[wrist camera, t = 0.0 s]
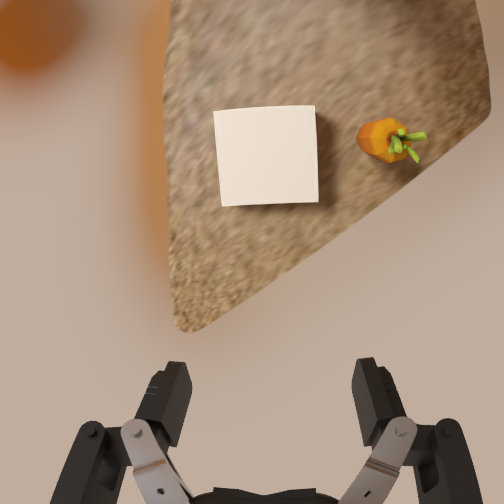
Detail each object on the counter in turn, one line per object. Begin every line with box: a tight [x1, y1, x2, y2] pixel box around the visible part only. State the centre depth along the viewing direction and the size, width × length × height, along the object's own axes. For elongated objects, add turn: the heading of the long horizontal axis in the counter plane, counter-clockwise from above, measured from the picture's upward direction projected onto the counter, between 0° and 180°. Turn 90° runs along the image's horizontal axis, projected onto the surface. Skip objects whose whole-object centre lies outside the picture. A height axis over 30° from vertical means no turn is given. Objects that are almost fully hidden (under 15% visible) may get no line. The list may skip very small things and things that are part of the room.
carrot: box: [356, 118, 427, 163], centre depth 27 cm, size 5×5×15 cm
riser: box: [213, 106, 318, 206], centre depth 34 cm, size 12×12×4 cm
